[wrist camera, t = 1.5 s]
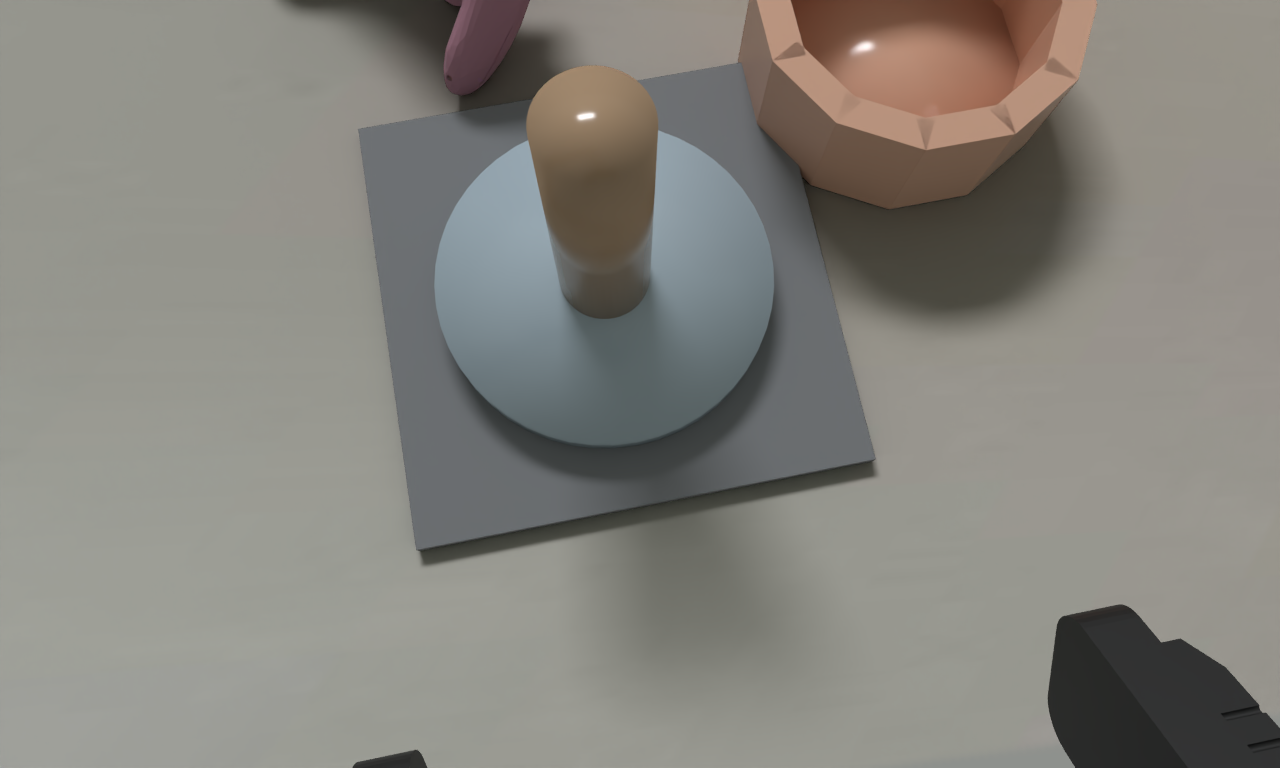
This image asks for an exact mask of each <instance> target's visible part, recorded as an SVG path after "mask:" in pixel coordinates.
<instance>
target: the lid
mask: <svg viewBox="0 0 1280 768" xmlns="http://www.w3.org/2000/svg"><path fill="white" fill-rule="evenodd" d="M526 130H527V137H528V140H527V141H525V142H523V143H522V144H520V145H518V146H516V147H514V148H512V149H511V150H509V151H508V152H507V153H505V154H504V155H502V156H501V157H499V158H498V159H496V160H495V161H494V162H493V163H492V164H491V165H490V166H488V167H487V168H486V169H485V170H484V171H483V172H482V173H481V174H480V175H479V176H478V177H477V178H476V179H475V180H474V181H473V183H472V184H471V185H470V186H469V187H468V188H467V190H466V191H465V193H464V194H463V196H462V197H461V199H460V200H459V201H458V203H457V204H456V206H455V208H454V210H453V212H452V214H451V216H450V218H449V220H448V222H447V224H446V227H445V229H444V232H443V235H442V238H441V241H440V244H439V249H438V254H437V259H436V264H435V281H434V289H435V301H436V309H437V313H438V318H439V322H440V326H441V329H442V332H443V335H444V337H445V340H446V343H447V345H448V348H449V349H450V351H451V353H452V355H453V357H454V359H455V360H456V362H457V364H458V366H459V367H460V369H461V370H462V372H463V373H464V375H465V376H466V377H467V379H468V380H469V381H470V383H471V384H472V385H473V387H474V388H475V389H476V391H477V392H478V393H479V394H480V395H481V396H482V397H483V398H484V399H485V400H486V401H487V402H488V403H489V404H490V405H491V406H492V407H493V408H494V409H496V410H497V411H498V412H499V413H501V414H502V415H503V416H505V417H506V418H507V419H508V420H510V421H512V422H513V423H515V424H517V425H518V426H520V427H522V428H524V429H525V430H527V431H529V432H531V433H534V434H536V435H539V436H541V437H544V438H546V439H548V440H552V441H556V442H559V443H563V444H567V445H571V446H578V447H586V448H622V447H630V446H638V445H642V444H645V443H649V442H653V441H657V440H660V439H662V438H665V437H667V436H670V435H672V434H675V433H677V432H680V431H681V430H683V429H685V428H687V427H688V426H690V425H692V424H694V423H695V422H697V421H699V420H700V419H702V418H703V417H704V416H705V415H707V414H708V413H709V412H711V411H712V410H713V409H715V408H716V407H717V406H718V405H719V404H720V403H721V402H722V401H723V400H724V399H725V398H726V397H727V396H728V395H729V394H730V393H731V392H732V391H733V389H734V388H735V387H736V386H737V384H738V383H739V382H740V380H741V379H742V378H743V376H744V375H745V373H746V372H747V370H748V368H749V366H750V364H751V363H752V361H753V359H754V357H755V355H756V353H757V351H758V349H759V347H760V344H761V342H762V339H763V337H764V334H765V332H766V329H767V326H768V322H769V318H770V314H771V310H772V303H773V293H774V268H773V260H772V255H771V249H770V244H769V241H768V238H767V235H766V232H765V229H764V226H763V223H762V221H761V219H760V217H759V215H758V213H757V211H756V209H755V207H754V205H753V204H752V202H751V201H750V199H749V198H748V196H747V195H746V193H745V191H744V190H743V189H742V187H741V186H740V185H739V184H738V183H737V182H736V181H735V179H734V178H733V177H732V176H731V175H730V174H729V173H728V172H727V171H726V170H725V169H724V168H723V167H722V166H721V165H719V164H718V163H717V162H716V161H715V160H714V159H712V158H711V157H710V156H708V155H707V154H705V153H704V152H702V151H701V150H699V149H698V148H696V147H695V146H693V145H691V144H689V143H687V142H685V141H683V140H681V139H679V138H677V137H674V136H672V135H669V134H666V133H664V132H661V131H659V130H658V116H657V111H656V108H655V105H654V102H653V100H652V98H651V97H650V95H649V93H648V92H647V91H646V89H645V88H644V87H643V86H642V85H641V84H640V83H639V82H638V81H637V80H635V79H634V78H632V77H631V76H629V75H628V74H626V73H624V72H622V71H619V70H616V69H614V68H609V67H605V66H581V67H576V68H572V69H569V70H566V71H564V72H562V73H560V74H558V75H556V76H555V77H553V78H552V79H550V80H549V81H548V82H547V83H545V84H544V85H543V86H542V88H541V89H540V90H539V91H538V92H537V94H536V95H535V97H534V98H533V100H532V102H531V104H530V107H529V110H528V114H527V121H526Z"/></svg>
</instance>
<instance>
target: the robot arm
mask: <svg viewBox="0 0 1280 768" xmlns="http://www.w3.org/2000/svg"><path fill="white" fill-rule="evenodd" d="M1048 707H1049V712H1050V717H1051V720H1052V724H1053V727H1054V730H1055V732H1056V735H1057V737H1058V739H1059V741H1060V743H1061V745H1062V747H1063V748H1064V750H1065V752H1066V753H1067V755H1068V756H1069V758H1070V760H1071V761H1072V763H1073V764H1074V766H1075V768H1280V728H1279V727H1278V726H1277V725H1276V723H1275V722H1274V721H1273V720H1272V719H1271V718H1270V717H1269V716H1268V714H1267V713H1262V712H1261V711H1260V709H1259V704H1258V703H1257V702H1256V701H1255V700H1254V699H1253V698H1252V697H1251V695H1250V694H1249V693H1248V692H1247V691H1246V690H1245V689H1244V688H1243V686H1242V685H1241V684H1240V683H1239V682H1238V681H1237V680H1236V679H1235V677H1234V676H1233V675H1232V674H1231V673H1230V672H1229V671H1228V670H1227V668H1226V667H1224V666H1222V665H1221V664H1219V663H1218V662H1216V661H1215V660H1213V659H1212V658H1210V657H1208V656H1207V655H1205V654H1204V653H1202V652H1201V651H1199V650H1198V649H1196V648H1194V647H1193V646H1191V645H1190V644H1188V643H1187V642H1185V641H1184V640H1182V639H1176V640H1172V641H1167V642H1162V643H1161V642H1160V641H1159V639H1158V638H1157V637H1156V636H1155V635H1154V633H1153V632H1152V631H1151V630H1150V629H1149V628H1148V626H1147V625H1146V624H1145V623H1144V622H1143V620H1142V619H1141V618H1140V617H1139V616H1138V615H1137V614H1136V612H1134V611H1133V610H1132V609H1131V608H1129V607H1127V606H1125V605H1114V606H1110V607H1105V608H1100V609H1095V610H1091V611H1086V612H1081V613H1076V614H1072V615H1067V616H1063V617H1061V618H1060V619H1059V621H1058V624H1057V629H1056V637H1055V644H1054V652H1053V660H1052V668H1051V675H1050V683H1049V691H1048ZM353 768H427V766H426V763H425V761H424V759H423V757H422V755H421V753H420V752H419V751H418V750H413V751H408V752H404V753H399V754H394V755H389V756H385V757H380V758H375V759H370V760H366V761H361V762H357V763H355V765H354V766H353Z"/></svg>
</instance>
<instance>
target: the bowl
mask: <svg viewBox="0 0 1280 768" xmlns="http://www.w3.org/2000/svg"><path fill="white" fill-rule="evenodd" d="M1096 7H1097V2H1096V0H749V4H748V9H747V15H746V20H745V25H744V31H743V36H742V42H741V47H740V52H739V58H738V62H739V63H742V66H743V70H744V74H745V78H746V82H747V86H748V90H749V94H750V98H751V102H752V106H753V110H754V114H755V118H756V122H757V124H758V125H759V126H760V127H761V128H762V129H763V130H764V131H765V132H766V133H767V134H768V135H769V136H770V137H771V138H772V139H773V140H774V141H775V142H776V143H777V144H778V145H779V146H780V147H781V148H782V149H783V150H784V151H785V152H786V153H787V154H788V155H789V156H790V157H791V158H792V159H793V160H794V161H795V162H796V163H797V164H798V165H799V169H800V173H801V176H802V177H803V178H804V179H805V180H806V181H807V182H808V183H809V184H810V185H812V186H815V187H818V188H822V189H825V190H828V191H831V192H834V193H838V194H841V195H844V196H847V197H851V198H854V199H857V200H860V201H863V202H867V203H870V204H873V205H876V206H880V207H883V208H886V209H894V208H899V207H905V206H910V205H916V204H921V203H926V202H932V201H937V200H943V199H948V198H954V197H959V196H965V195H968V194H969V193H970V192H971V191H972V190H974V189H975V188H976V187H977V186H978V185H979V184H981V183H982V182H983V181H984V180H985V179H986V178H987V177H989V176H990V175H991V174H992V173H993V172H994V171H995V170H997V169H998V168H999V167H1000V166H1001V165H1002V164H1003V163H1005V162H1006V161H1007V160H1008V159H1009V158H1010V157H1012V156H1013V155H1014V154H1015V153H1016V152H1017V151H1018V150H1020V149H1021V148H1022V147H1023V146H1024V145H1025V144H1026V142H1027V141H1028V140H1029V139H1030V138H1031V136H1032V135H1033V134H1034V133H1035V132H1036V130H1037V129H1038V128H1039V127H1040V125H1041V124H1042V123H1043V122H1044V121H1045V119H1046V118H1047V117H1048V116H1049V115H1050V113H1051V112H1052V111H1053V110H1054V109H1055V107H1056V106H1057V105H1058V104H1059V103H1060V101H1061V100H1062V99H1063V98H1064V96H1065V95H1066V94H1067V93H1068V92H1069V90H1070V89H1071V88H1072V87H1073V86H1074V84H1075V83H1076V82H1077V81H1078V79H1079V75H1080V71H1081V67H1082V63H1083V59H1084V55H1085V51H1086V47H1087V43H1088V39H1089V35H1090V31H1091V27H1092V23H1093V19H1094V15H1095V11H1096Z"/></svg>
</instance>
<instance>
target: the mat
mask: <svg viewBox="0 0 1280 768" xmlns="http://www.w3.org/2000/svg"><path fill="white" fill-rule="evenodd" d="M638 82H639V83H640V84H641V85H642V86H643V87H644V88H645V89H646V91H647V92H648V93H649V95H650V97H651V98H652V100H653V102H654V105H655V108H656V111H657V116H658V130H659V131H661V132H664V133H666V134H669V135H672V136H674V137H677V138H679V139H681V140H683V141H685V142H687V143H689V144H691V145H693V146H695V147H696V148H698V149H699V150H701V151H702V152H704V153H705V154H707V155H708V156H710V157H711V158H712V159H714V160H715V161H716V162H717V163H718V164H719V165H721V166H722V167H723V168H724V169H725V170H726V171H727V172H728V173H729V174H730V175H731V176H732V177H733V178H734V179H735V181H736V182H737V183H738V184H739V185H740V186H741V187H742V189H743V190H744V191H745V193H746V195H747V196H748V198H749V199H750V201H751V202H752V204H753V205H754V207H755V209H756V211H757V213H758V215H759V217H760V219H761V221H762V223H763V226H764V229H765V232H766V235H767V238H768V241H769V244H770V249H771V255H772V260H773V268H774V293H773V303H772V310H771V314H770V318H769V322H768V326H767V329H766V332H765V334H764V337H763V339H762V342H761V344H760V347H759V349H758V351H757V353H756V355H755V357H754V359H753V361H752V363H751V364H750V366H749V368H748V370H747V372H746V373H745V375H744V376H743V378H742V379H741V380H740V382H739V383H738V384H737V386H736V387H735V388H734V389H733V391H732V392H731V393H730V394H729V395H728V396H727V397H726V398H725V399H724V400H723V401H722V402H721V403H720V404H719V405H718V406H717V407H716V408H715V409H713V410H712V411H711V412H709V413H708V414H707V415H705V416H704V417H703V418H702V419H700V420H699V421H697V422H695V423H694V424H692V425H690V426H688V427H687V428H685V429H683V430H681V431H680V432H677V433H675V434H672V435H670V436H667V437H665V438H662V439H660V440H657V441H653V442H649V443H645V444H642V445H638V446H630V447H622V448H586V447H578V446H571V445H567V444H563V443H559V442H556V441H552V440H548V439H546V438H544V437H541V436H539V435H536V434H534V433H531V432H529V431H527V430H525V429H524V428H522V427H520V426H518V425H517V424H515V423H513V422H512V421H510V420H508V419H507V418H506V417H505V416H503V415H502V414H501V413H499V412H498V411H497V410H496V409H494V408H493V407H492V406H491V405H490V404H489V403H488V402H487V401H486V400H485V399H484V398H483V397H482V396H481V395H480V394H479V393H478V392H477V391H476V389H475V388H474V387H473V385H472V384H471V383H470V381H469V380H468V379H467V377H466V376H465V375H464V373H463V372H462V370H461V369H460V367H459V366H458V364H457V362H456V360H455V359H454V357H453V355H452V353H451V351H450V349H449V348H448V345H447V343H446V340H445V337H444V335H443V332H442V329H441V326H440V322H439V318H438V313H437V309H436V301H435V289H434V281H435V264H436V259H437V254H438V249H439V244H440V241H441V238H442V235H443V232H444V229H445V227H446V224H447V222H448V220H449V218H450V216H451V214H452V212H453V210H454V208H455V206H456V204H457V203H458V201H459V200H460V199H461V197H462V196H463V194H464V193H465V191H466V190H467V188H468V187H469V186H470V185H471V184H472V183H473V181H474V180H475V179H476V178H477V177H478V176H479V175H480V174H481V173H482V172H483V171H484V170H485V169H486V168H487V167H488V166H490V165H491V164H492V163H493V162H494V161H495V160H496V159H498V158H499V157H501V156H502V155H504V154H505V153H507V152H508V151H509V150H511V149H512V148H514V147H516V146H518V145H520V144H522V143H523V142H525V141H527V140H528V137H527V130H526V121H527V114H528V110H529V107H530V104H531V102H532V100H533V99H529V100H523V101H517V102H511V103H505V104H500V105H494V106H488V107H482V108H477V109H471V110H465V111H459V112H454V113H448V114H442V115H436V116H431V117H425V118H419V119H413V120H408V121H402V122H396V123H390V124H385V125H379V126H373V127H367V128H361V129H358V131H359V138H360V145H361V153H362V160H363V167H364V175H365V182H366V189H367V196H368V204H369V211H370V218H371V225H372V233H373V240H374V247H375V254H376V262H377V269H378V276H379V283H380V291H381V298H382V305H383V312H384V320H385V327H386V334H387V341H388V349H389V356H390V363H391V370H392V378H393V385H394V392H395V399H396V407H397V414H398V421H399V428H400V436H401V443H402V450H403V457H404V465H405V472H406V479H407V486H408V494H409V501H410V508H411V515H412V523H413V530H414V537H415V544H416V550H418V551H421V550H426V549H431V548H436V547H441V546H447V545H452V544H457V543H462V542H467V541H472V540H477V539H482V538H487V537H492V536H497V535H502V534H507V533H512V532H517V531H522V530H527V529H532V528H537V527H542V526H548V525H553V524H558V523H563V522H568V521H573V520H578V519H583V518H588V517H593V516H598V515H603V514H608V513H613V512H618V511H623V510H628V509H633V508H638V507H644V506H649V505H654V504H659V503H664V502H669V501H674V500H679V499H684V498H689V497H694V496H699V495H704V494H709V493H714V492H719V491H724V490H729V489H734V488H740V487H745V486H750V485H755V484H760V483H765V482H770V481H775V480H780V479H785V478H790V477H795V476H800V475H805V474H810V473H815V472H820V471H825V470H830V469H836V468H841V467H846V466H851V465H856V464H861V463H866V462H871V461H873V460H875V455H874V451H873V447H872V444H871V440H870V436H869V432H868V428H867V424H866V421H865V417H864V413H863V409H862V405H861V402H860V398H859V394H858V390H857V386H856V382H855V379H854V375H853V371H852V367H851V363H850V360H849V356H848V352H847V348H846V344H845V341H844V337H843V333H842V329H841V325H840V321H839V318H838V314H837V310H836V306H835V302H834V299H833V295H832V291H831V287H830V283H829V279H828V276H827V272H826V268H825V264H824V260H823V257H822V253H821V249H820V245H819V241H818V237H817V234H816V230H815V226H814V222H813V218H812V215H811V211H810V207H809V203H808V199H807V195H806V192H805V188H804V184H803V180H802V176H801V173H800V169H799V165H798V164H797V163H796V162H795V161H794V160H793V159H792V158H791V157H790V156H789V155H788V154H787V153H786V152H785V151H784V150H783V149H782V148H781V147H780V146H779V145H778V144H777V143H776V142H775V141H774V140H773V139H772V138H771V137H770V136H769V135H768V134H767V133H766V132H765V131H764V130H763V129H762V128H761V127H760V126H759V125H758V124H757V122H756V118H755V114H754V110H753V106H752V102H751V98H750V94H749V90H748V86H747V82H746V78H745V74H744V70H743V66H742V63H736V64H730V65H724V66H719V67H713V68H707V69H701V70H696V71H690V72H684V73H678V74H673V75H667V76H661V77H655V78H649V79H644V80H638Z"/></svg>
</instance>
